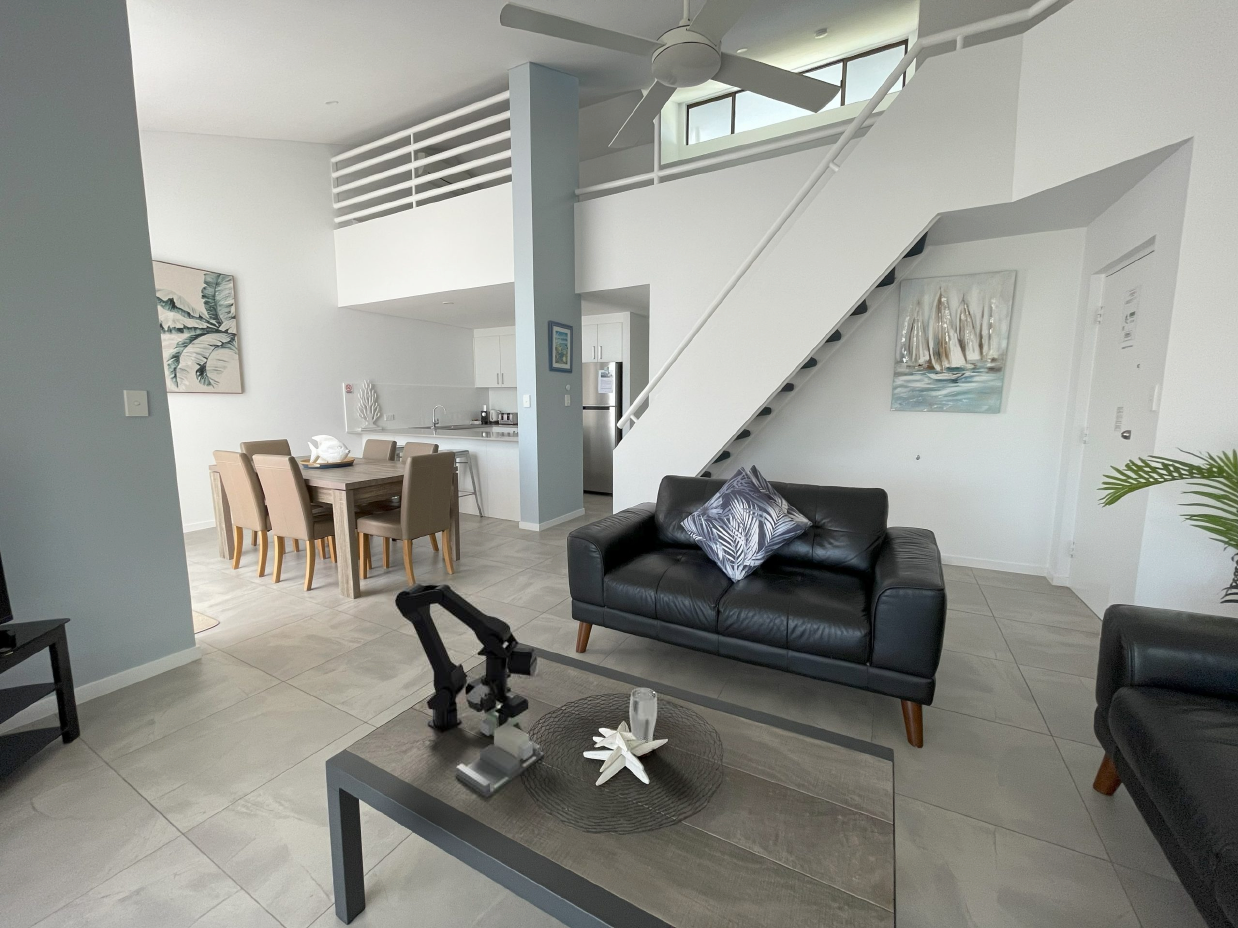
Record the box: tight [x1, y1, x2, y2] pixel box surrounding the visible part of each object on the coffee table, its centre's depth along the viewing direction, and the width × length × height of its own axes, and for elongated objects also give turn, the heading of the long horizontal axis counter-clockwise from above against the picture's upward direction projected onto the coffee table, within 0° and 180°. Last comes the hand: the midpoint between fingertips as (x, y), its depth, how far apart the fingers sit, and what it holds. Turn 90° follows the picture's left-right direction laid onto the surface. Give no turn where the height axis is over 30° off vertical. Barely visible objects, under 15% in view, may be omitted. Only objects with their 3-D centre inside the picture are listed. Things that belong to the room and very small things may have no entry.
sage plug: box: [480, 704, 519, 737], centre depth 140 cm, size 10×4×5 cm, turn 145°
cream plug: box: [493, 723, 533, 760], centre depth 129 cm, size 10×4×5 cm, turn 55°
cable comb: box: [454, 739, 545, 799], centre depth 126 cm, size 11×18×2 cm, turn 145°
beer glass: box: [628, 687, 658, 742], centre depth 133 cm, size 7×7×15 cm
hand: (496, 726), depth 139 cm, fingers closed on sage plug, 4 cm apart
